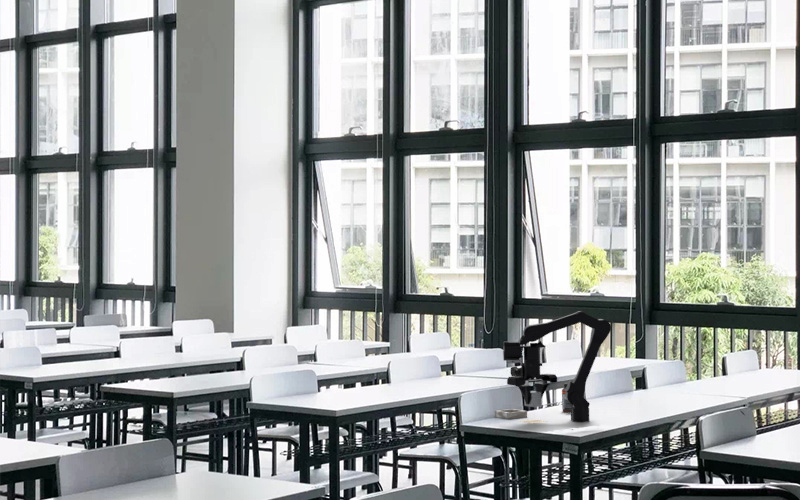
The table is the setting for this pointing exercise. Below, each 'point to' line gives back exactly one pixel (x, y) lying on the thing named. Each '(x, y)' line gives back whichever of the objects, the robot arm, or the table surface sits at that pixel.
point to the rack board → (510, 414)
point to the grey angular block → (534, 399)
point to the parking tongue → (533, 421)
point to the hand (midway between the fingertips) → (532, 403)
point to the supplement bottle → (565, 401)
